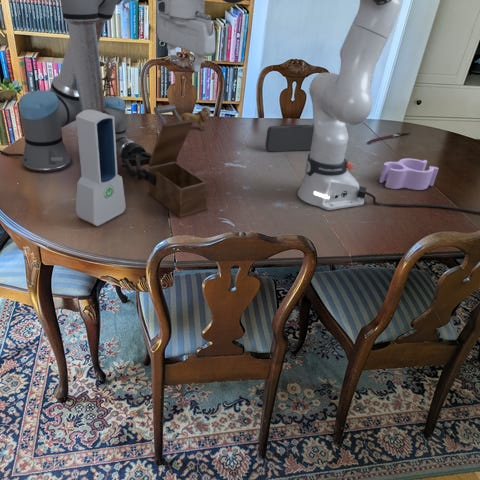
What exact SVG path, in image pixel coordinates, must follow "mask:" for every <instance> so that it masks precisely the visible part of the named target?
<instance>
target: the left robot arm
mask: <svg viewBox="0 0 480 480" xmlns="http://www.w3.org/2000/svg"><path fill="white" fill-rule="evenodd" d="M123 1H124V0H60V8H61V14H62V19H63V20H64V21H65V22H66V23H67V28H68V35H69V38H68V41H67V45H66V49H65V51H64V52H65V53H64V55H63V58H62V59H63V60H62V64H61V68H60V69H59V74H58V76H54V78H52V80H51V84H50V87H49V90H48V89H47V90H46V89H39V90H38V89H37V90H35V91H28V92H26V93H25V94H23V95H21V96H20V98H19V102H18V105H19V110H18V111H19V115H20V120H21V126H22V132H23V136H24V148H23V153H8V152H6V151H3V150H1V149H0V154H2V155H4V156H8V157H22V158H21V159H22V160H21V161H22V166H23V168H24V169H25V170H27V171H29V172H33V173H39V174H46V173H56V172H61V171H63V170H66V169H67V168H69V167H70V166H71V163H72V159H71V155H70V153H69V151H68V150H67V149H68V148H67V147H66V145H65V143H64V140H63V132H62V128H64V127H66V126H67V125H70V124H71V123H73V122H76V116H77V115H78V114H79V113H80V112H82V111H85V110H96V111H99V112H102V113H105V114H108V115H111V116H114V120H115V138H116V156H117V158H118V159H120V160H121V167H123V168H124V169H125V170H126V172H127V173H128V174H129V176H130V177H131V178H132V179H133V178H136V177H137V180H144V181H146V182H148V183H149V182H150V183H151V184H153V185H156V177H155V176H154V175H153V174H151V173H150V172H149V170H147V169H146V168H142V167H144V166H146V165H147V166H149V165H148V164H149V161H150V159H151V156H152V153H151V152H147V151H146V149H145V148H144V147H143V146H142V145H140V144H139V143H137V142H136V141H134V140H132V139H131V138H129V137H127V119H126V117H127V115H126V114H127V113H126V111H127V110H126V103H125V100H124V99H123V98H121V97H118V96H116V97H114V96H112V97H110V96H108V97H106V98H104V96H105V93H104V94H103V89H104V87H103V85H104V84H103V80H102V78H103V76H102V69H101V66H100V61H101V60H100V53H99V52H100V51H99V42H100V40H101V36H102V33H103V30H104V27H105V23H106V22H107V21H110V20H112V18H113V16H114V14H115V10H116V7H117V5H120V4H121V3H122V2H123ZM177 159H178V158H177ZM177 159H176V161H173V162H177V163H178V161H177ZM168 163H170V162H168ZM164 164H166V163H164ZM160 165H162V164H160Z"/></svg>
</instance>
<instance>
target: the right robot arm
mask: <svg viewBox="0 0 480 480" xmlns="http://www.w3.org/2000/svg"><path fill="white" fill-rule="evenodd" d="M205 1H206V0H159V1H157V2H156V11H157V12H158V13H157V17H156V30H157V31H156V33H157V37H158V40H159V41H160V42H162V43H165V44H166V48H167V51H168V55H169V62H170V63H172V64H178V63H179V55H178V54H177V50H176V49H177V48H179V49H181V50H185V51H187V52H189V53H193V54H194V55H193V57H194V58H195V59H194V62H193V63H191V71H193V72H196V73H198V72H201V68H202V67H201V66H202V63H203V61H204V60H205V57H210V56H211V57H212V56H214V54H215V52H216V29H215V26H214V25H215V23H214V20H213V19H212V17H211V15H210V14H208V13H205V3H206V2H205ZM222 1H223V2H225V3H226V4H227V3H228V4H239V3H242V2H244V0H222ZM400 9H401V0H359V7H358V10H357V13H356V14H355V17H354V18H353V21H352V23H351V25H350V27H349V29H348V32H347V34H346V36H345V38H344V41H343V43H342V45H341V47H340V50H339V58H340V67H339V74H338V73H334V72H320V73H318V74H317V75H315V76H314V78H312V80H311V82H310V84H309V88H308V94H309V96H310V99H311V104H312V119H313V122H312V123H313V124H312V125H314V127H313V138H312V144H311V150H309V153H308V155H307V159H306V163H305V172H304V176H303V179H302V182H301V185H300V186H299V189H298V191H297V197H299V199H300V200H302V201H303V202H305V203H307V204H309V205H312V206H316V207H319V208H321V209H324V210H326V211H334V210H340V209H341V210H342V209H346V208H352V207H358V206H363V205H364V204H365V196H366V195H367V196H369V197H371V198H372V203H373V204H374V205H377V206H383V207H421V208H423V207H425V208H438V209H447V210H448V209H449V210H456V211H461V212H466V213H473V214H478V215H480V211H479V210H474V209H469V208H462V207H456V206H449V205H442V204H426V203H379V202H378V201H376V200H377V199H376V196H375V195H373V194H372V193H371V192H368V191H367V188H368V187H365V186H360V184H359V182H358V180H357V178H355V176H354V175H353V174H352V173H351V172H349V171H352V170H354V168H355V167H354V164H353V163H352V162H349V161H348V160H347V159H346V158H345V157H346V152H347V147H348V143H349V133H348V130H347V129H348V128H347V125H351V126H356V125H359V124H362V123H363V122H365V120H366V119H367V118H368V117H369V116H370V115H371V112H372V109H373V101H372V96H371V91H372V89H371V88H372V82H373V78H374V72H375V69H376V66H377V64H378V62H379V59H380V57H381V55H382V53H383V51H384V49H385V47H386V45H387V42H388V40H389V38H390V36H391V33H392V31H393V29H394V27H395V24H396V21H397V19H398V15H399V12H400ZM346 124H347V125H346Z"/></svg>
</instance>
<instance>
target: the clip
mask: <svg viewBox="0 0 480 480" xmlns="http://www.w3.org/2000/svg"><path fill="white" fill-rule="evenodd" d="M427 164H428V160H427V159H423V160H421V159H417V158H412V157H411V158H409V157H407V158H401V159H400V160H398V161H386V162H384V163H383V166H382V170H381V173H380V178H379V181H378V182H379V183H380V184H381V183H384V182H385V184H384V187H385V188H388V189H391V190H399V189H408V190H414V191H416V190H417V191H424V190H426V189H428V188H429V186H430V187H433V186H434V183H435V180H436V178H437V175H438V172H439V167H437V166H432V165H430V166H429V167H428V169H427V170H426V168H427Z"/></svg>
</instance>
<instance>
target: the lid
mask: <svg viewBox="0 0 480 480" xmlns="http://www.w3.org/2000/svg"><path fill="white" fill-rule="evenodd" d="M153 113H154V114H155V115H157V116H158V118H159V120H160V121H161V123H162V126H161V130H160V132H159V135H158V137H157V140H156V143H155V145H154V148H153V150H152V153H151V154H152V156H151V159H150V161H149V164H148V165H147V166H148V168H149V167H153V166H157V165H160V164H164V163H168V162H173V161H176V159H178V157H179V155H180V153H181V150H182V148H183V145H184V143H185V140H186V139H187V136H188V134H189V132H190V130H191V127H192V125H193V124H194V122H193V121H192V119H190V120H184V121H182V119H181V118H180V117H181V115H180V114H179V113H178V111H177V107H176V105H175V104H174V103H173V104H167V105H160V106H155V107H153ZM167 113H173V114H174V115H175V117H176V119H177V121H172V122H167V121H166V119H165V118H164V117H163V115H162V114H167Z"/></svg>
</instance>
